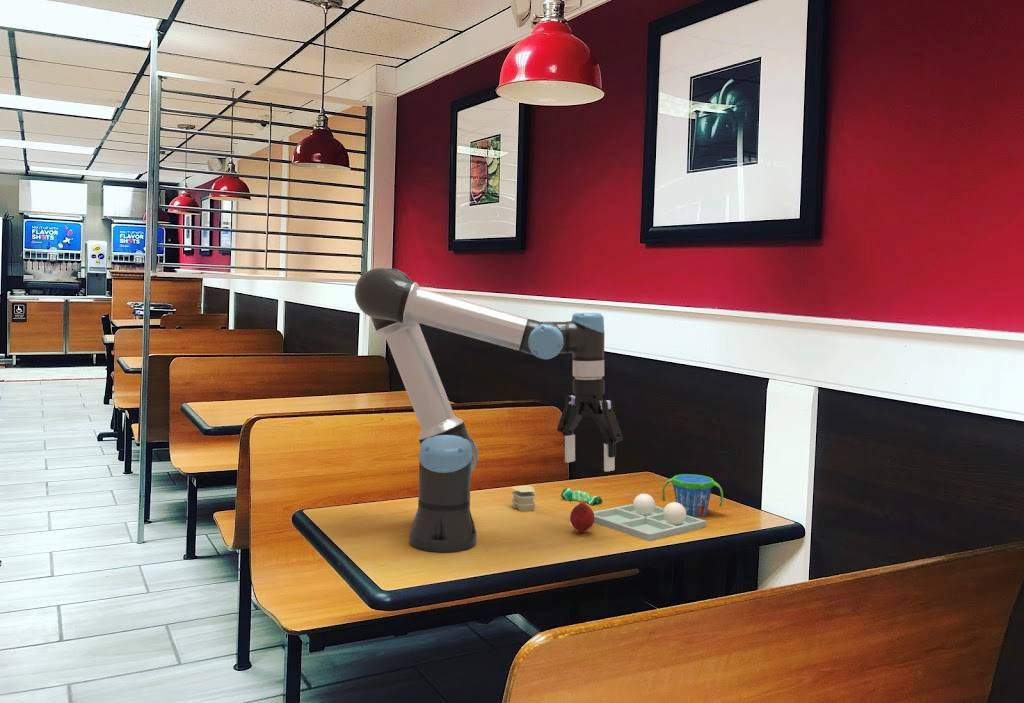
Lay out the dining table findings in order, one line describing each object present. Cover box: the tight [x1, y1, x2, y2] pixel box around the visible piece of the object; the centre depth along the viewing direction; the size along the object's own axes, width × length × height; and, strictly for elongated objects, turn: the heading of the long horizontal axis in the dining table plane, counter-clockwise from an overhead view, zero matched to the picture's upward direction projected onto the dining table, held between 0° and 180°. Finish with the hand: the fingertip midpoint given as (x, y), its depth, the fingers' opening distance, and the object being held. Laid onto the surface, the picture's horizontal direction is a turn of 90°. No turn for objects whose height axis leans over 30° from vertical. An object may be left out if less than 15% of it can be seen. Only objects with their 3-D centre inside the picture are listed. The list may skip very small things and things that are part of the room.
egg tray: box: [593, 503, 707, 542], centre depth 208 cm, size 21×21×2 cm
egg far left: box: [632, 493, 656, 516], centre depth 215 cm, size 6×6×6 cm
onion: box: [569, 500, 595, 534], centre depth 201 cm, size 6×6×8 cm
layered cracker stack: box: [511, 484, 536, 512], centre depth 222 cm, size 10×9×6 cm
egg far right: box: [663, 501, 686, 525], centre depth 207 cm, size 6×6×6 cm
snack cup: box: [661, 473, 724, 518], centre depth 219 cm, size 16×10×10 cm
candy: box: [560, 486, 603, 506], centre depth 229 cm, size 12×3×4 cm
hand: (589, 466), depth 201 cm, fingers open, 13 cm apart
